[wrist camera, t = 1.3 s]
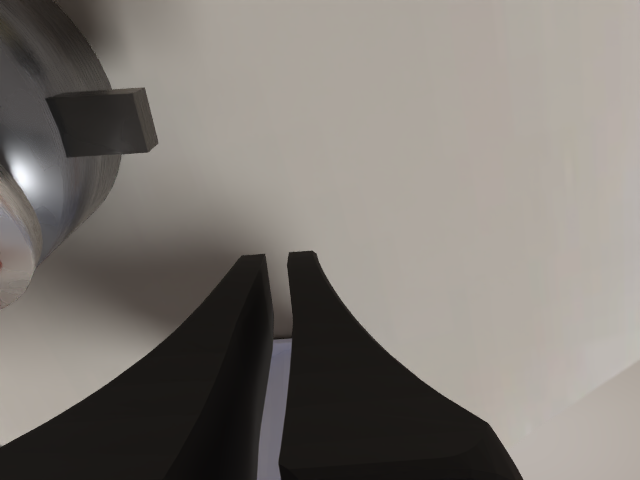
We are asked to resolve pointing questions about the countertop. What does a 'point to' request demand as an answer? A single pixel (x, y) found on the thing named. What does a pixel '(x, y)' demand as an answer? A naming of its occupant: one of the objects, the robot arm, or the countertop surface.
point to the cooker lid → (16, 240)
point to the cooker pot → (62, 118)
